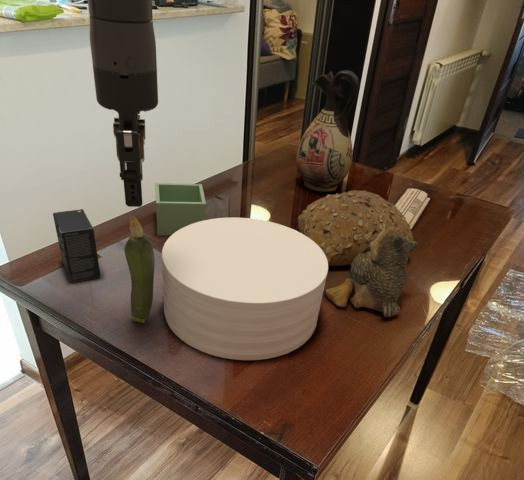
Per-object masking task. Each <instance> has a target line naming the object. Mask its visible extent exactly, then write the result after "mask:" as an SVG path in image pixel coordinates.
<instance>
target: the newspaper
mask: <svg viewBox="0 0 524 480" xmlns="http://www.w3.org/2000/svg"><path fill="white" fill-rule="evenodd" d="M430 201H431V198H430V197H428V193H426V191H424V190H421V189H419V188H412V187H411V188H407V189H406V191H405V192H404V193H403V194H402V195H401V196H400V198H399V200H398V201H397V202H396V203H395V204H394V205H395V207H397V208H398V210H399V211H400V212H401V213H402V214H403V216H404V217H405V218H406V221H407V222H408V224H410V226H411V227H410V230H412V229H413V227H414V226H415V224H416V223H417V221H418V220H419V218H420V216H421V215H422V213H423V212H424V210H425V209H426V207H427V206H428V204H429V202H430Z"/></svg>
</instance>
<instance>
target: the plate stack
mask: <svg viewBox="0 0 524 480" xmlns="http://www.w3.org/2000/svg"><path fill="white" fill-rule="evenodd" d="M161 264H162V267H161V268H162V289H163V314H164V318H165V321H166V323H167V325H168V327H169V329H170V330H171V331H172V333H173V334H175V336H176V337H177V338H178V339H180V340H181V341H182V342H184V343H185V344H186V345H188V346H190V347H192V348H194V349H196V350H197V351H200V352H202V353H205V354H208V355H210V356H214V357H219V358H223V359H228V360H236V361H260V360H261V361H262V360H269V359H273V358H278V357H281V356H284V355H286V354H290V353H291V352H293V351H296V350H297V349H299V348H301V346H303V345H304V344H306V342H307V341H309V339H310V338H311V337H312V336H313V334H314V332H315V330H316V327H317V324H318V317H319V314H320V309H321V304H322V300H323V295H324V292H325V291H324V290H325V287H326V280H327V277H328V272H329V265H328V261H327V258H326V256H325V254H324V252H323V251H322V249H321V248H320V247H319V246H318V245H317V244H316V243H315V242H314V241H312V240H311V239H310V238H308V237H307V236H305V235H303V234H302V233H301V232H300V231H298V230H296V229H294V228H292V227H289V226H286V225H284V224H283V225H282V224H280V223H277V222H273V221H269V220H263V219H258V218H250V217H217V218H216V217H215V218H210V219H206V220H204V221H200V222H196V223H193V224H190V225H188V226H185V227H183V228H181V229H180V230H178V231H176V232H175V233H174V234H172V235H171V236H170V235H169V236H168V238H167V240H166V241H165V242H164V244H163V246H162V250H161Z"/></svg>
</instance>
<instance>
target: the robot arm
mask: <svg viewBox="0 0 524 480" xmlns="http://www.w3.org/2000/svg"><path fill="white" fill-rule="evenodd" d="M87 7H88V8H87V9H88V14H89V46H90V52H91V53H90V54H91V63H92V71H93V80H94V89H95V97H96V98H95V99H96V102H97V103H98V105H99V106H101V107H102V108H104V109H106V110H110V111H114V112H116V113H117V114H118V116H114V117H113V123H112V129H113V136H114V138H115V146H116V147H115V151H116V158H117V160H118V161H119V171H120V172H119V177H120V180H121V181H123V190H124V191H123V192H124V201H125V205H126V207H129V208H130V207H132V208H135V207H136V208H140V207H142V206H143V191H142V190H143V189H142V181H143V179H144V178H143V177H144V175H143V163H144V162H145V160H146V159H145V140H146V138H147V137H146V118H141V112H146V113H147V112H150V111H152V110H154V109H156V108H157V107H158V104H159V88H158V86H159V85H158V63H157V61H158V59H157V42H156V34H155V29H154V20H153V18H154V17H153V16H154V15H153V0H87Z"/></svg>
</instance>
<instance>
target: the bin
mask: <svg viewBox="0 0 524 480" xmlns="http://www.w3.org/2000/svg"><path fill="white" fill-rule="evenodd" d="M154 186H155V187H154V188H155V211H156V214H155V215H156V233H157V235H156V236H169V237H170V236H171V235H172V234H174V233H175V232H176V231H178V230H180V229H181V228H183V227H185V226H188V225H190V224H193V223H196V222H200V221H204V220H207V202H206V197H205V192H204V188H203V184H202V183H169V182H167V183H166V182H155V183H154Z"/></svg>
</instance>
